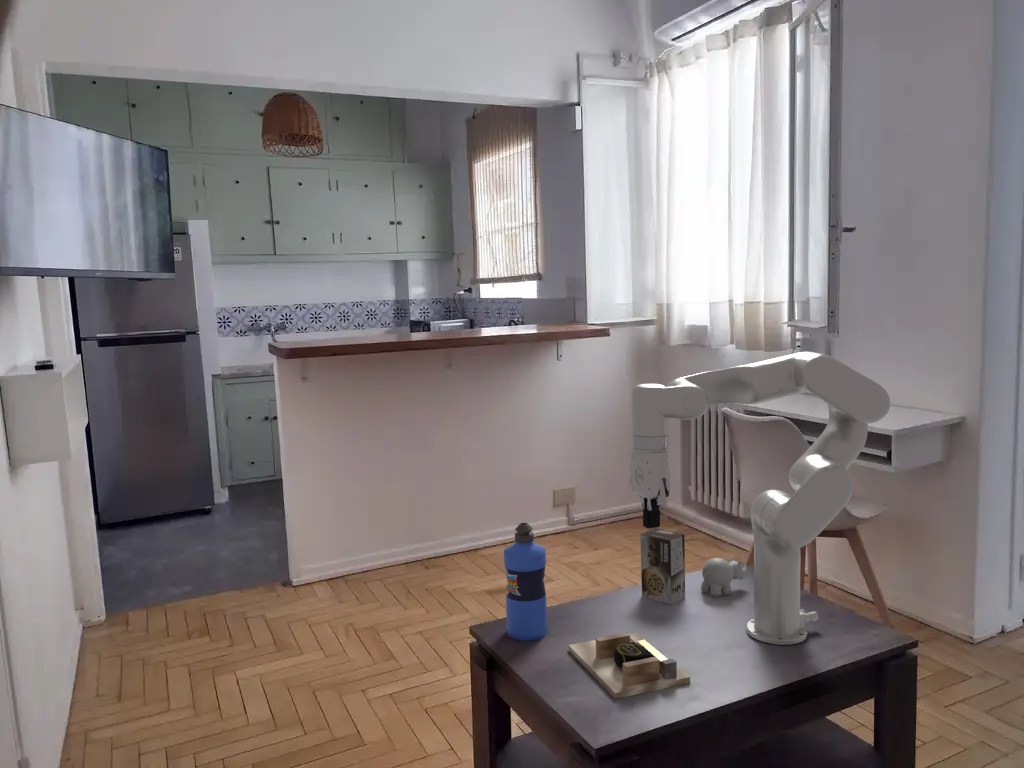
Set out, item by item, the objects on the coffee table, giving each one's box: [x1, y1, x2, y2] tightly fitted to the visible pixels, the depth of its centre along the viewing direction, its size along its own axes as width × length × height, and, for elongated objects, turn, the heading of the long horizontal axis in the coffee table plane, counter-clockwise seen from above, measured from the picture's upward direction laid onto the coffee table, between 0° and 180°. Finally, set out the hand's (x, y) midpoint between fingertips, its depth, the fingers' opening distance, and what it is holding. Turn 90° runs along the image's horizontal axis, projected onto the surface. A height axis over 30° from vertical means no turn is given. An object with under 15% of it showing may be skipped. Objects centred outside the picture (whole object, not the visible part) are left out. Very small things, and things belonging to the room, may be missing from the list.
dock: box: [568, 631, 691, 700], centre depth 162 cm, size 16×22×5 cm
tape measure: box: [614, 642, 654, 669], centre depth 159 cm, size 7×7×4 cm
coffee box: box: [639, 527, 686, 605], centre depth 196 cm, size 9×6×16 cm
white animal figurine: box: [700, 557, 747, 597], centre depth 199 cm, size 8×12×9 cm, turn 111°
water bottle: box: [503, 522, 548, 642], centre depth 178 cm, size 9×9×25 cm
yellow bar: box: [637, 639, 668, 670], centre depth 160 cm, size 2×10×2 cm, turn 19°
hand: (651, 526), depth 171 cm, fingers closed
